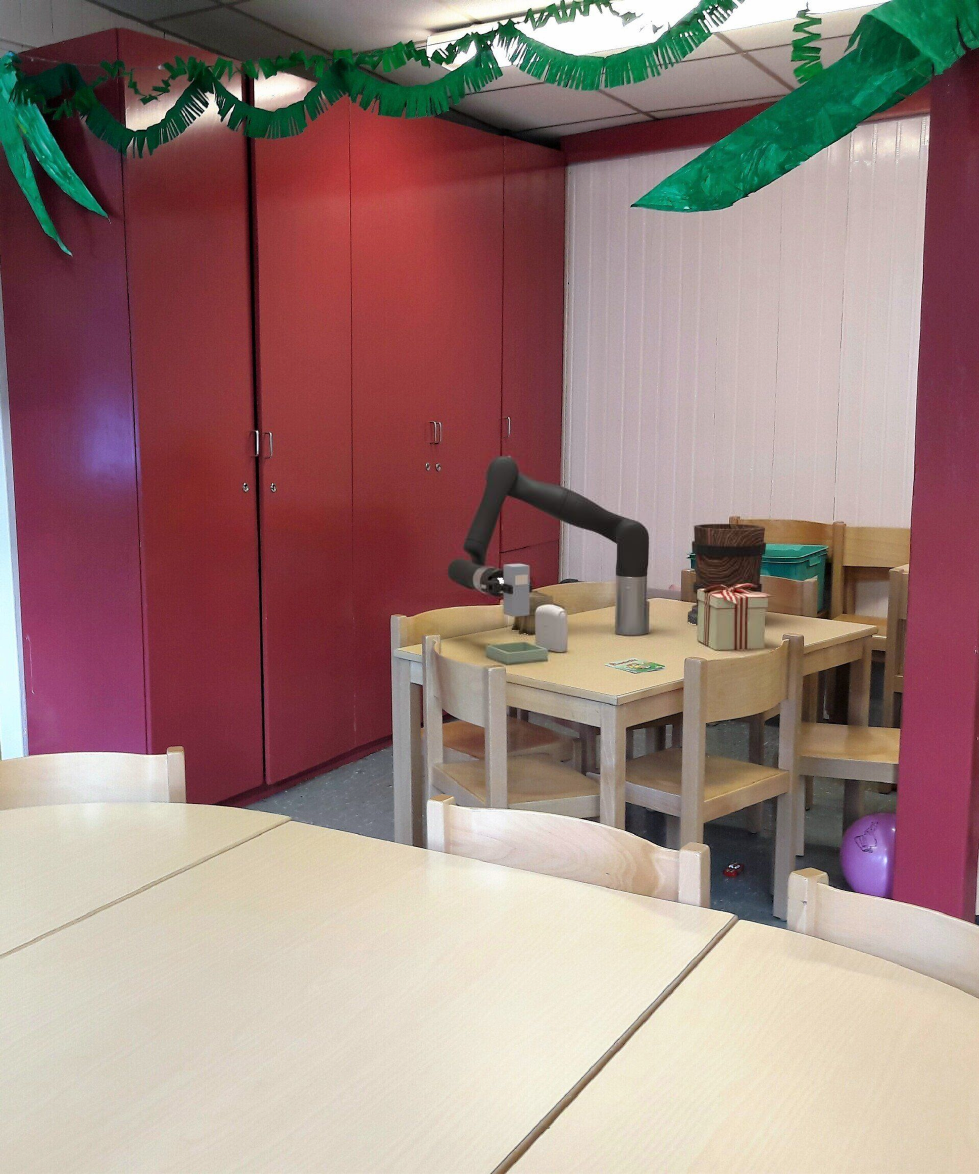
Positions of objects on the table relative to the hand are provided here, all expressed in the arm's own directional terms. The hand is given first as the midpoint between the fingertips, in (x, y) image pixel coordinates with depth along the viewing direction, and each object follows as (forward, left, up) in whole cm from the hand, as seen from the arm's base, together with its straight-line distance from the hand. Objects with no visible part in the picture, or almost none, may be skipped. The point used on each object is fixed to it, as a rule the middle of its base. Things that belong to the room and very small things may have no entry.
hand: (521, 589), depth 279 cm
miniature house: (-25, -34, -19) cm, 46 cm away
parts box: (0, -3, -7) cm, 7 cm away
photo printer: (-14, -9, -19) cm, 25 cm away
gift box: (-62, +10, -19) cm, 66 cm away
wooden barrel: (-86, -21, -19) cm, 90 cm away
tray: (0, -3, -19) cm, 19 cm away
